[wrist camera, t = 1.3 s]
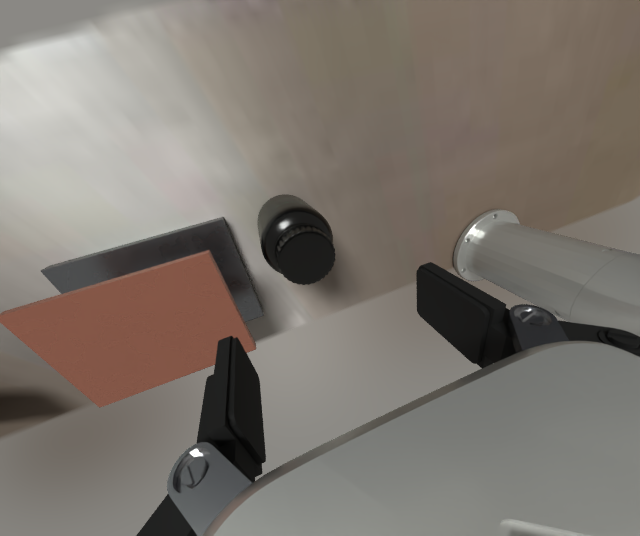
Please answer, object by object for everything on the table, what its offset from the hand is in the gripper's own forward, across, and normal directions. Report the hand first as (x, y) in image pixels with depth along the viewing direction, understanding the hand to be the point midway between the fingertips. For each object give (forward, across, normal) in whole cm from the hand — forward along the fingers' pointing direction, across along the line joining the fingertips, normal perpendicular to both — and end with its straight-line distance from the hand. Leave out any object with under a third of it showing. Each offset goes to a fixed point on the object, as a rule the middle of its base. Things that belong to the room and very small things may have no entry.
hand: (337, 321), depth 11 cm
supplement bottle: (+20, -1, 0) cm, 20 cm away
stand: (+20, +15, +5) cm, 26 cm away
